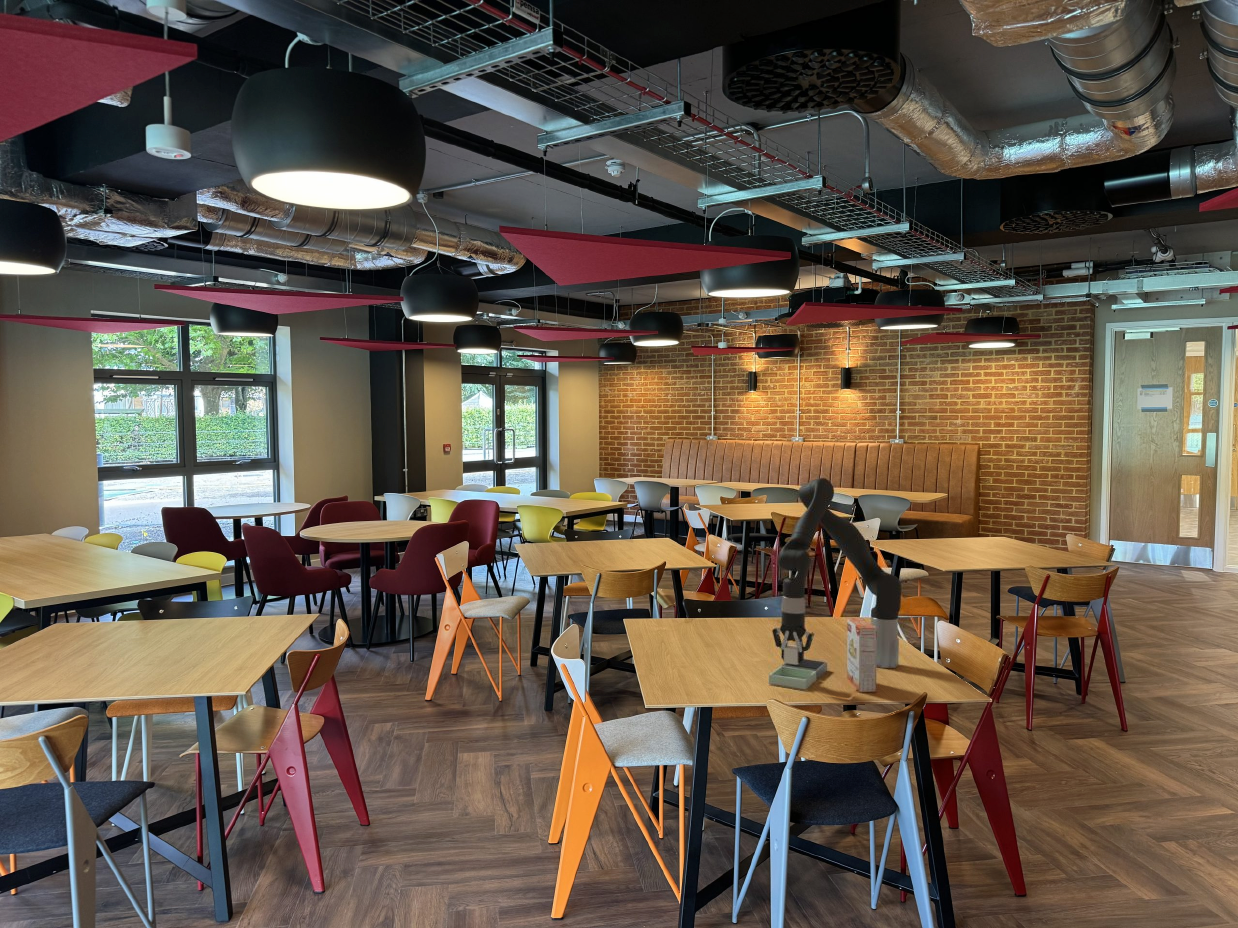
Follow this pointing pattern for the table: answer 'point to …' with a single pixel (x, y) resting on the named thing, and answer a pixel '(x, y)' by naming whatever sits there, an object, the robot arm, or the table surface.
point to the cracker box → (861, 654)
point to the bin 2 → (810, 666)
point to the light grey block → (791, 654)
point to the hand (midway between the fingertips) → (792, 661)
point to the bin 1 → (792, 678)
